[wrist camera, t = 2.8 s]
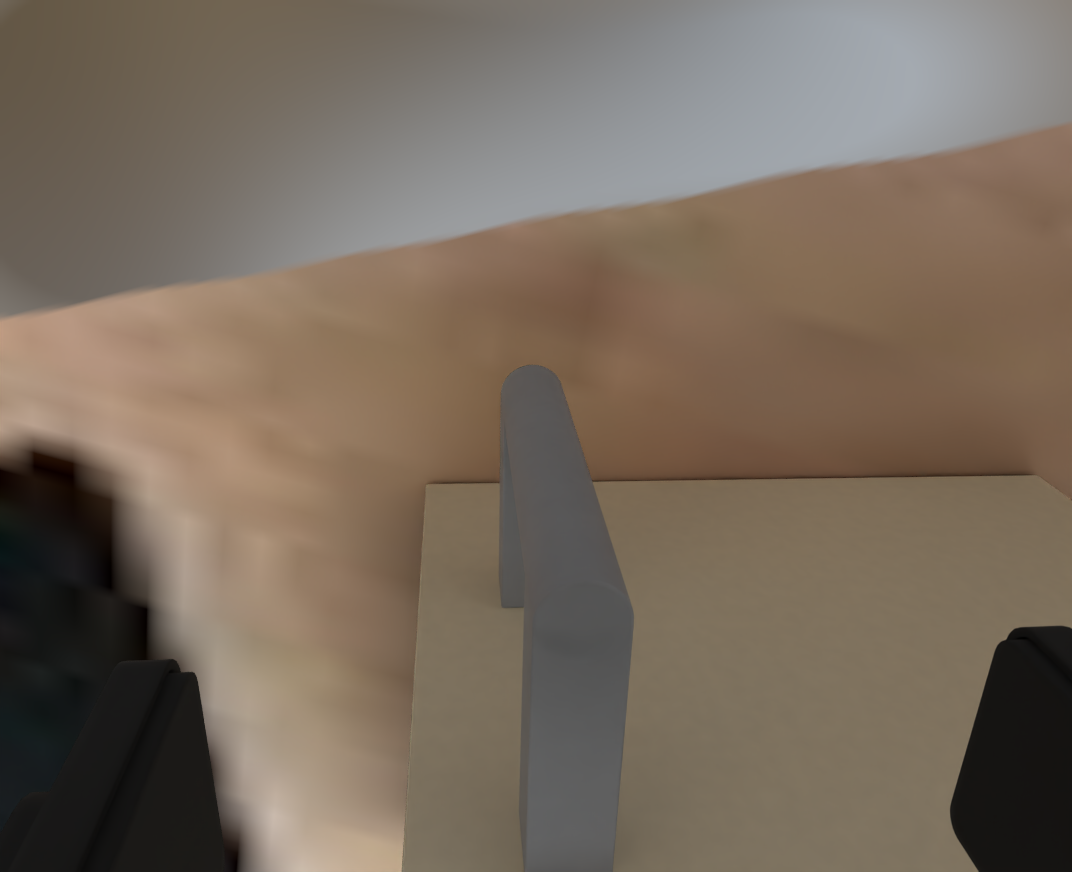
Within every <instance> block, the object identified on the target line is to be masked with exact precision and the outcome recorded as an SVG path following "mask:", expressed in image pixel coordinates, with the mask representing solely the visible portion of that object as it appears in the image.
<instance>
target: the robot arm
mask: <svg viewBox="0 0 1072 872" xmlns="http://www.w3.org/2000/svg"><path fill="white" fill-rule="evenodd" d="M950 819H951V824H952V827H953V830H954V833H955V835H956V837H957V839H958V840H959V842H960V844H961V845H962V847H963V848H964V850H965V851H966V853H967V854H968V856H969V857H970V859H971V861H972V862H973V864H974V865H975V867H976V868H977V870H978V871H979V872H1072V629H1071V628H1070V627H1066V626H1036V627H1019V628H1015V629H1013V630H1012V631H1011V632H1010V633H1009V635H1008V637H1007V639H1006V640H1004V641H1001V642H1000V643H999V644H998V645H997V647H996V649H995V652H994V655H993V659H992V662H991V665H990V669H989V672H988V676H987V679H986V683H985V686H984V690H983V693H982V697H981V700H980V704H979V707H978V711H977V714H976V717H975V721H974V724H973V728H972V731H971V735H970V738H969V742H968V745H967V749H966V752H965V756H964V759H963V763H962V766H961V770H960V773H959V776H958V780H957V783H956V787H955V790H954V794H953V797H952V801H951V805H950ZM0 872H224V844H223V838H222V831H221V825H220V819H219V812H218V806H217V800H216V793H215V787H214V781H213V775H212V768H211V762H210V756H209V749H208V743H207V737H206V730H205V724H204V718H203V711H202V705H201V699H200V692H199V686H198V681H197V677H196V675H195V673H193V672H181V671H180V667H179V665H178V663H177V661H175V660H173V659H168V660H141V661H122V662H120V663H118V664H117V665H116V667H115V668H114V670H113V671H112V673H111V675H110V677H109V679H108V681H107V683H106V685H105V687H104V689H103V690H102V692H101V694H100V696H99V698H98V700H97V702H96V704H95V706H94V708H93V710H92V711H91V713H90V715H89V717H88V719H87V721H86V723H85V725H84V727H83V729H82V730H81V732H80V734H79V736H78V738H77V740H76V742H75V744H74V746H73V748H72V750H71V751H70V753H69V755H68V757H67V759H66V761H65V763H64V765H63V767H62V769H61V771H60V772H59V774H58V776H57V778H56V780H55V782H54V784H53V786H52V788H51V790H50V791H49V792H35V793H30V794H28V795H27V796H26V797H24V798H23V799H21V801H20V802H19V804H18V805H17V806H16V808H15V809H14V811H13V812H12V814H11V816H10V817H9V819H8V821H7V823H6V824H5V826H4V828H3V830H2V832H1V833H0Z"/></svg>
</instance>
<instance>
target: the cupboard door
mask: <svg viewBox="0 0 1072 872" xmlns="http://www.w3.org/2000/svg"><path fill="white" fill-rule="evenodd" d="M1036 626H1066V627H1070V628H1071V629H1072V500H1071V499H1069V498H1068V497H1066V496H1065V495H1064V494H1062V493H1061V492H1060V491H1058V490H1057V489H1056V488H1054V487H1053V486H1052V485H1050V484H1049V483H1047V482H1046V481H1045V480H1043V479H1042V478H1041V477H1039V476H1038V475H1021V476H952V477H883V478H814V479H745V480H677V481H608V482H592V479H591V476H590V473H589V470H588V466H587V463H586V460H585V457H584V454H583V451H582V448H581V444H580V441H579V438H578V435H577V432H576V429H575V426H574V423H573V419H572V416H571V413H570V410H569V407H568V404H567V401H566V397H565V394H564V391H563V388H562V385H561V382H560V380H559V378H558V377H557V376H556V375H555V373H553V372H552V371H551V370H549V369H548V368H545V367H543V366H539V365H527V366H523V367H520V368H518V369H516V370H514V371H513V372H512V373H510V375H509V376H508V377H507V378H506V379H505V381H504V383H503V386H502V389H501V419H500V483H470V484H427V485H426V491H425V507H424V524H423V540H422V556H421V572H420V588H419V604H418V620H417V636H416V652H415V668H414V684H413V700H412V716H411V732H410V749H409V765H408V781H407V797H406V813H405V829H404V845H403V861H402V872H979V871H978V870H977V868H976V867H975V865H974V864H973V862H972V861H971V859H970V857H969V856H968V854H967V853H966V851H965V850H964V848H963V847H962V845H961V844H960V842H959V840H958V839H957V837H956V835H955V833H954V830H953V827H952V824H951V819H950V805H951V801H952V797H953V794H954V790H955V787H956V783H957V780H958V776H959V773H960V770H961V766H962V763H963V759H964V756H965V752H966V749H967V745H968V742H969V738H970V735H971V731H972V728H973V724H974V721H975V717H976V714H977V711H978V707H979V704H980V700H981V697H982V693H983V690H984V686H985V683H986V679H987V676H988V672H989V669H990V665H991V662H992V659H993V655H994V652H995V649H996V647H997V645H998V644H999V643H1000V642H1001V641H1004V640H1006V639H1007V637H1008V635H1009V633H1010V632H1011V631H1012V630H1013V629H1015V628H1019V627H1036Z"/></svg>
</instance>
